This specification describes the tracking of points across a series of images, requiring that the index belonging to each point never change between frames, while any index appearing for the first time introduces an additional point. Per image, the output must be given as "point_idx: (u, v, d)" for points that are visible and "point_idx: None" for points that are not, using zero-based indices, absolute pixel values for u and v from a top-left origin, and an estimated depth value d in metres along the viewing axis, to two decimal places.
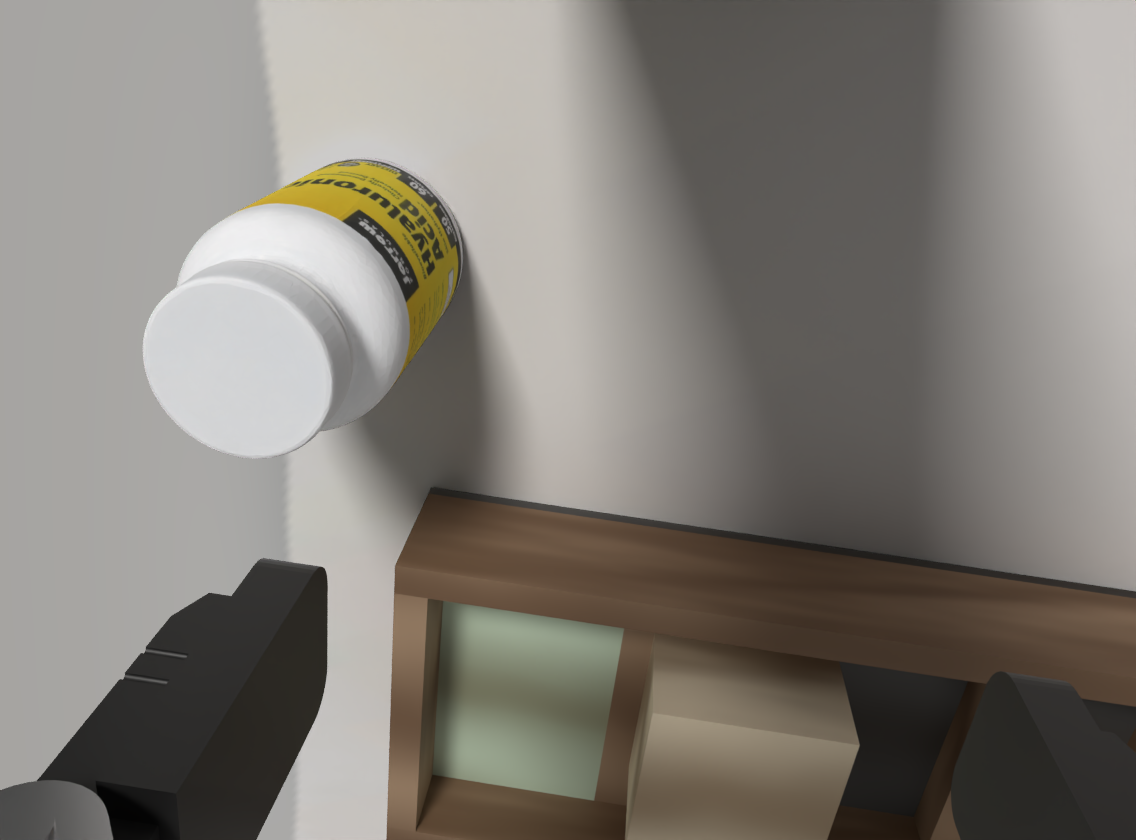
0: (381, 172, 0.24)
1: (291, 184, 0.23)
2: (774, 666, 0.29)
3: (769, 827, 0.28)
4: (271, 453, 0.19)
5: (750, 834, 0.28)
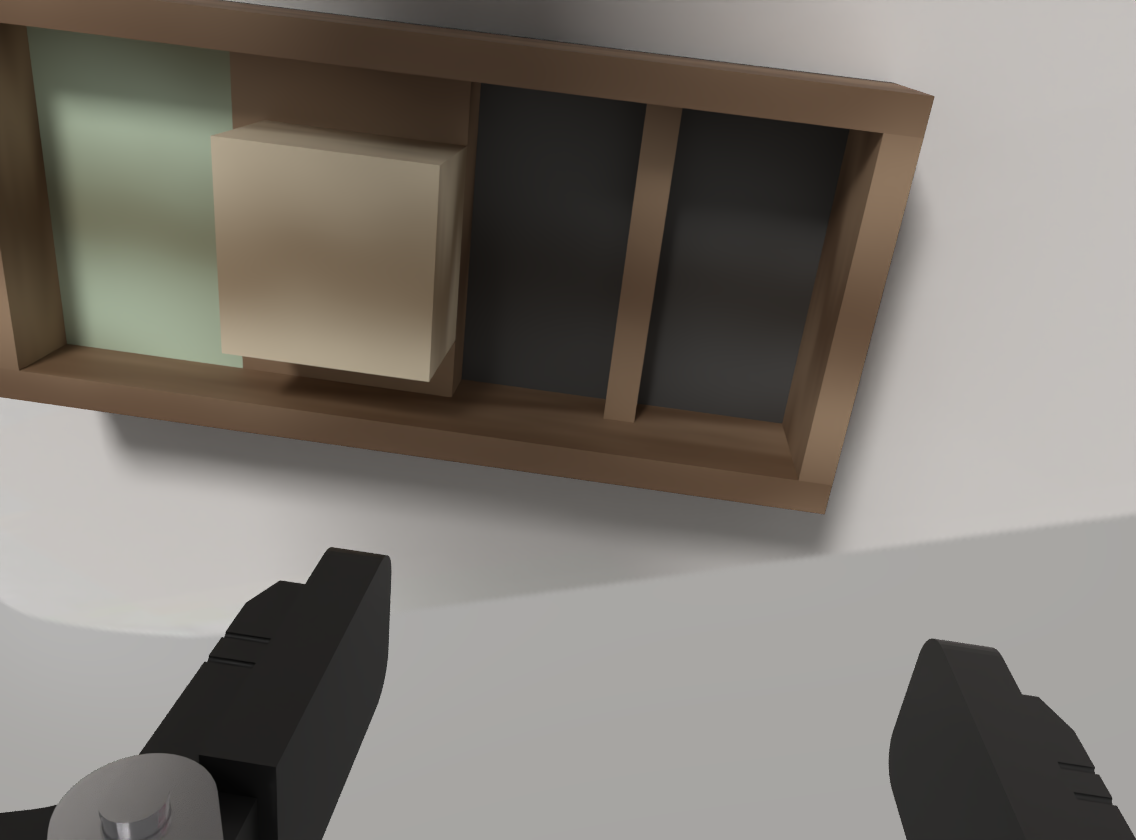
0: None
1: None
2: (387, 139, 0.26)
3: (367, 300, 0.25)
4: None
5: (349, 312, 0.25)
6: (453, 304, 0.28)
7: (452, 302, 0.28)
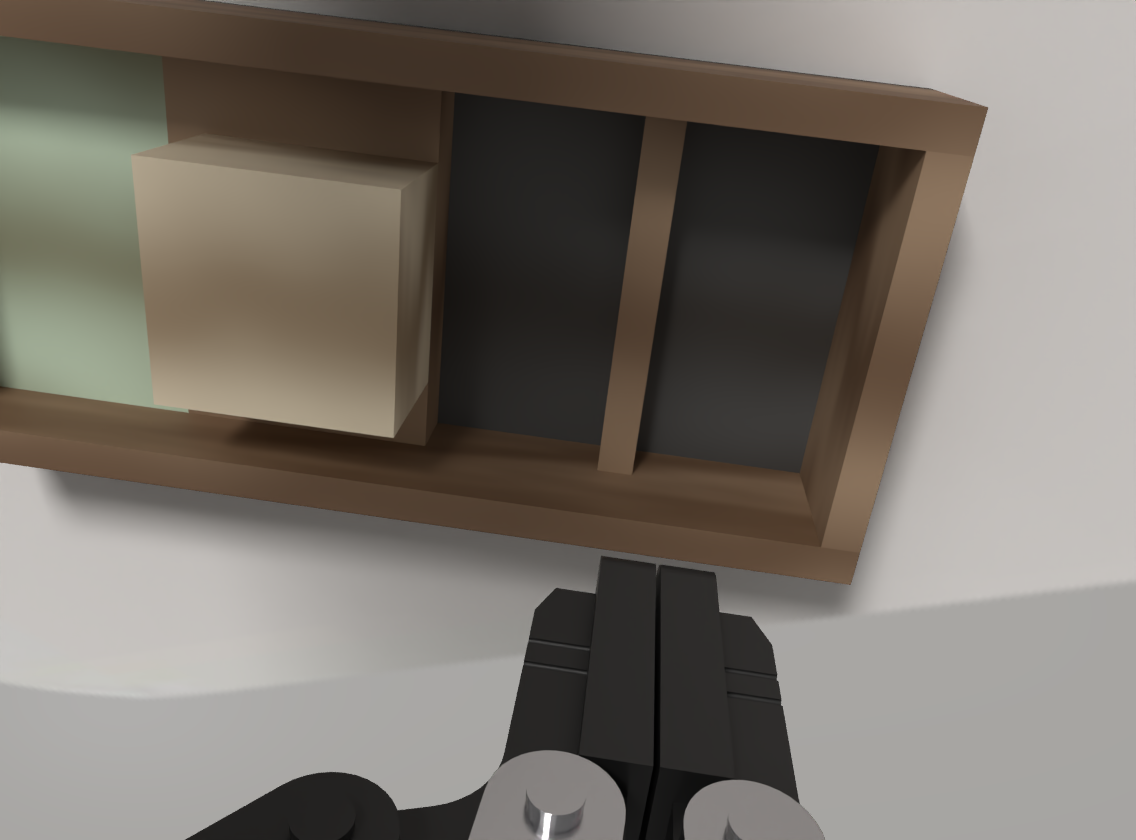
0: None
1: None
2: (344, 156, 0.22)
3: (320, 344, 0.21)
4: None
5: (299, 359, 0.22)
6: (424, 343, 0.24)
7: (423, 342, 0.24)
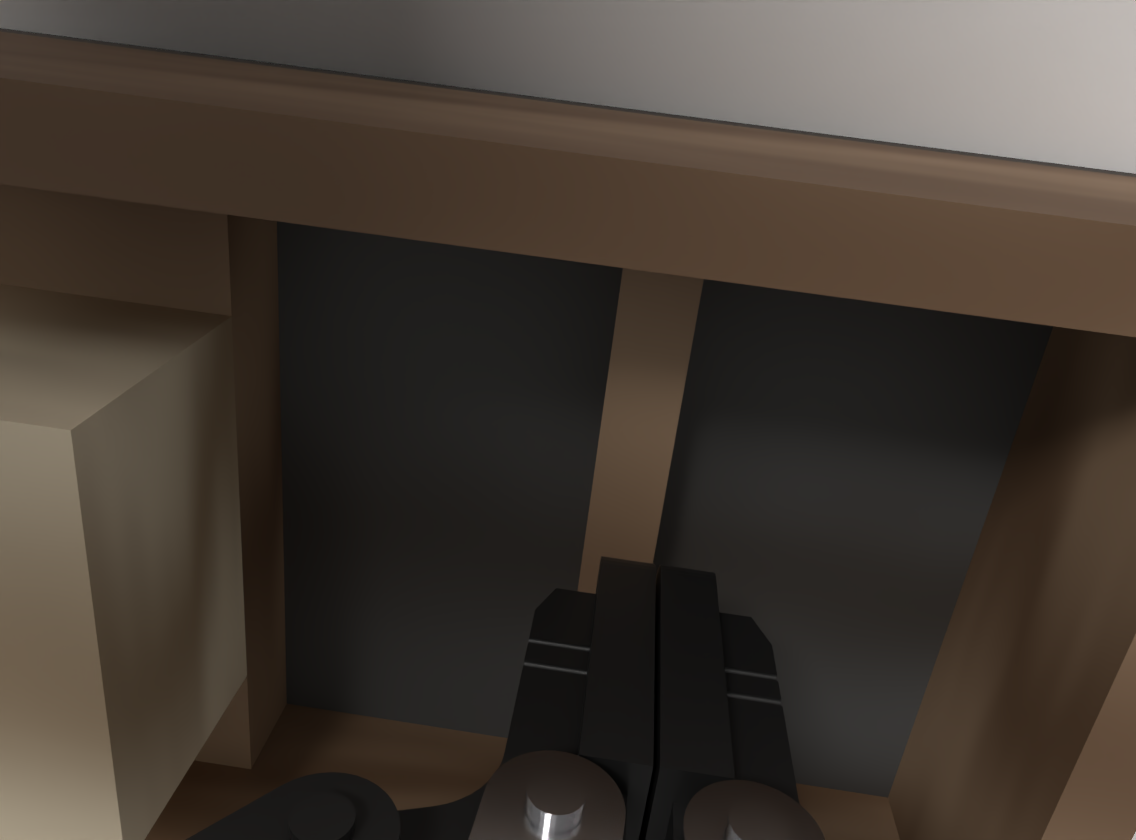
0: None
1: None
2: (37, 310, 0.11)
3: None
4: None
5: None
6: (224, 631, 0.13)
7: (219, 632, 0.13)
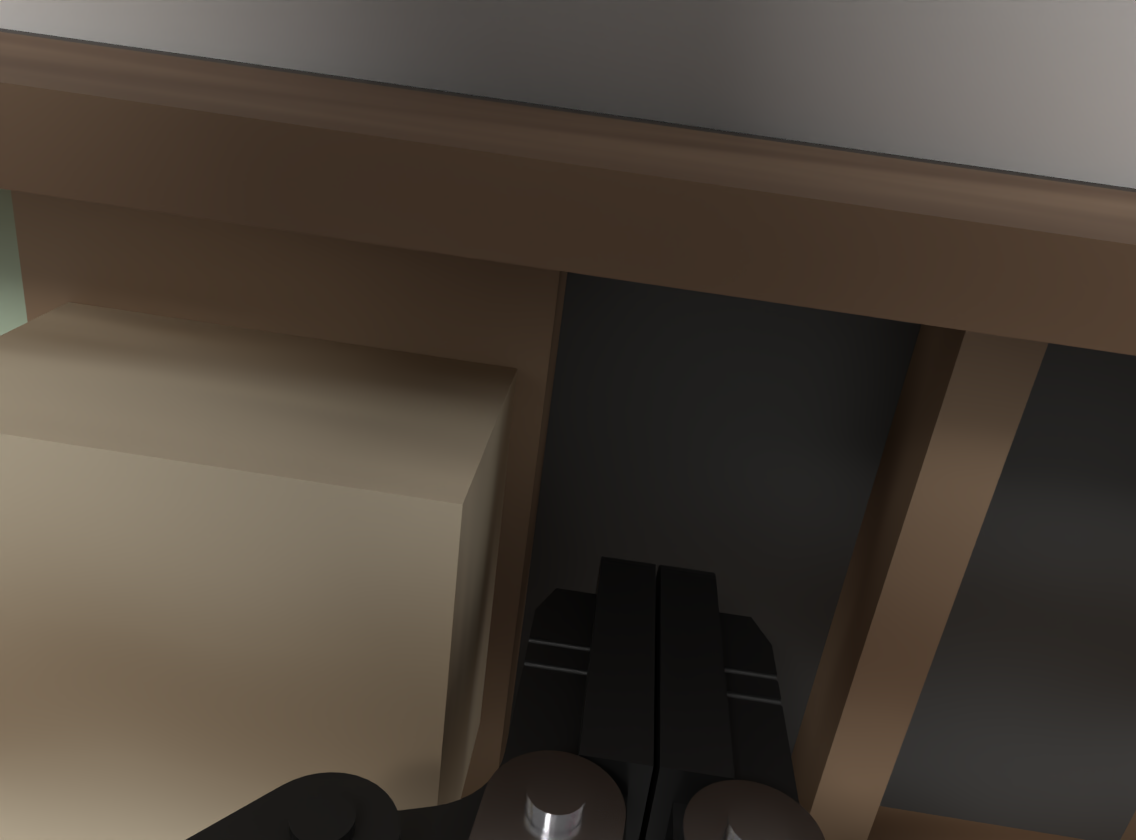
0: None
1: None
2: (335, 364, 0.11)
3: (279, 776, 0.10)
4: None
5: (236, 796, 0.10)
6: (479, 682, 0.13)
7: (478, 683, 0.13)
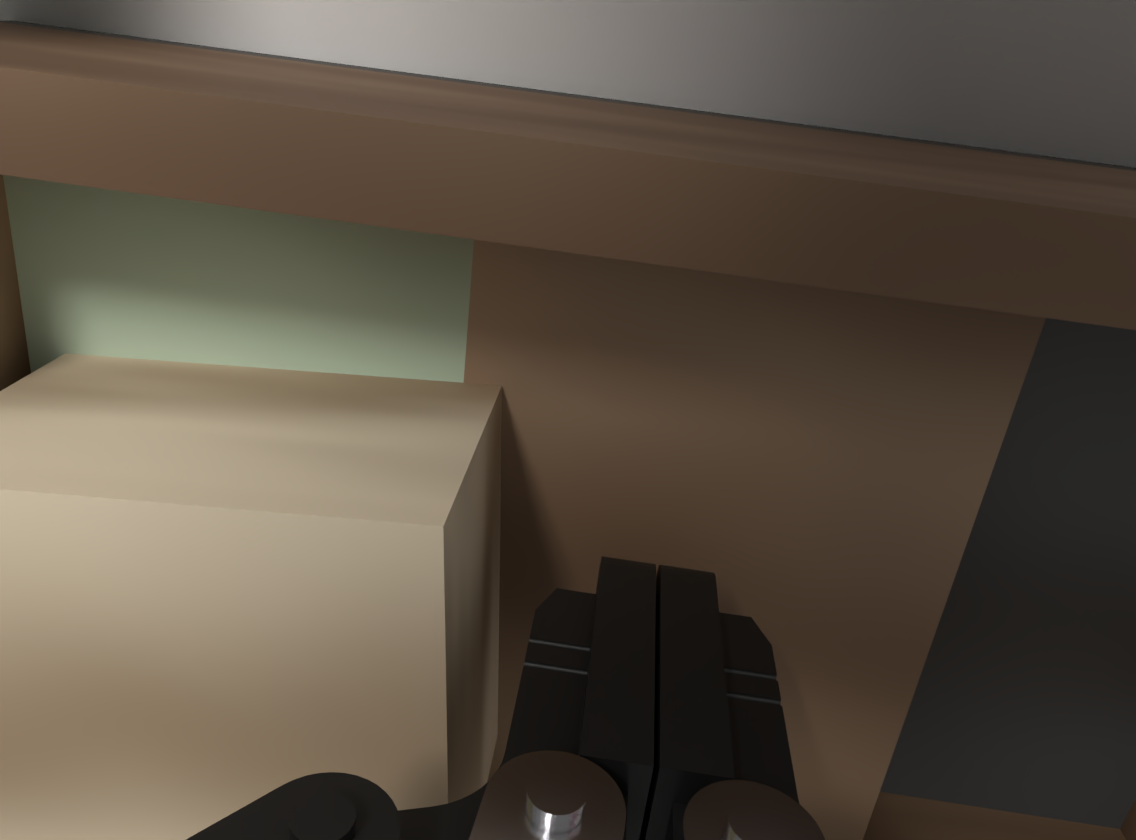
0: None
1: None
2: (322, 395, 0.12)
3: None
4: None
5: None
6: (491, 695, 0.13)
7: (489, 697, 0.13)
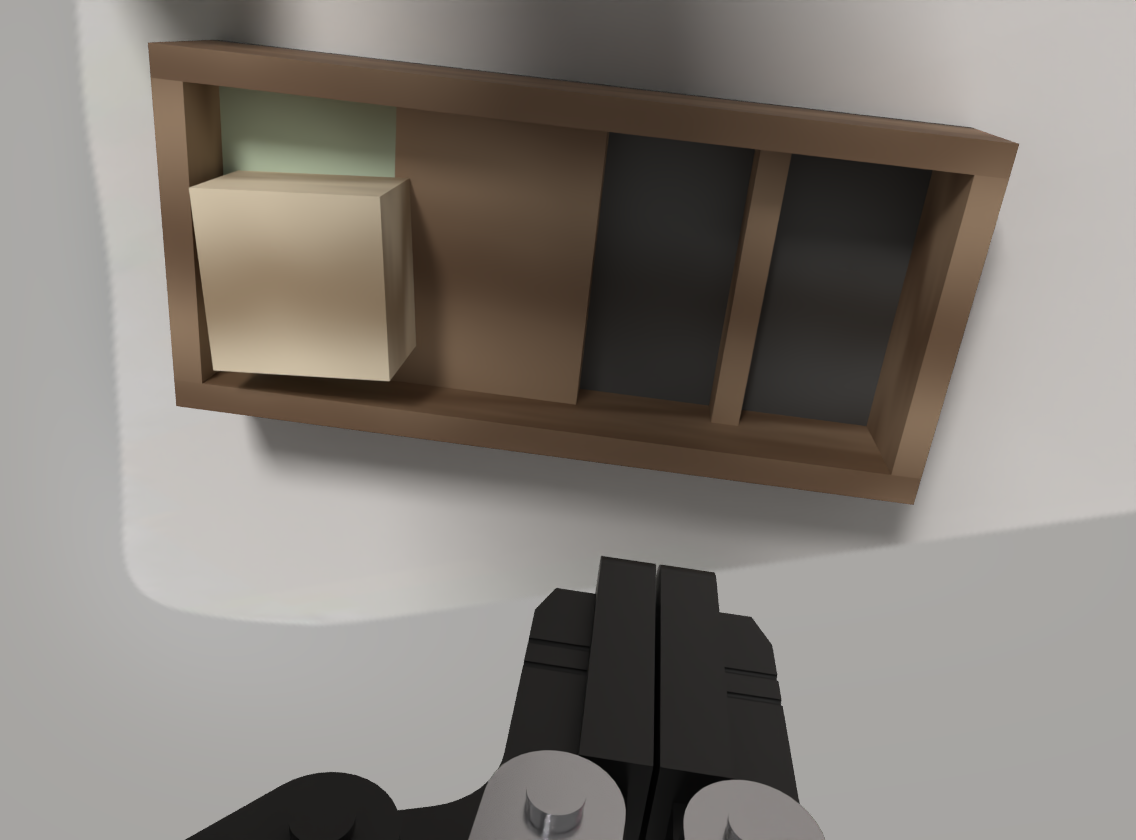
0: None
1: None
2: (340, 178, 0.31)
3: (331, 315, 0.29)
4: None
5: (317, 326, 0.30)
6: (410, 314, 0.32)
7: (408, 312, 0.32)
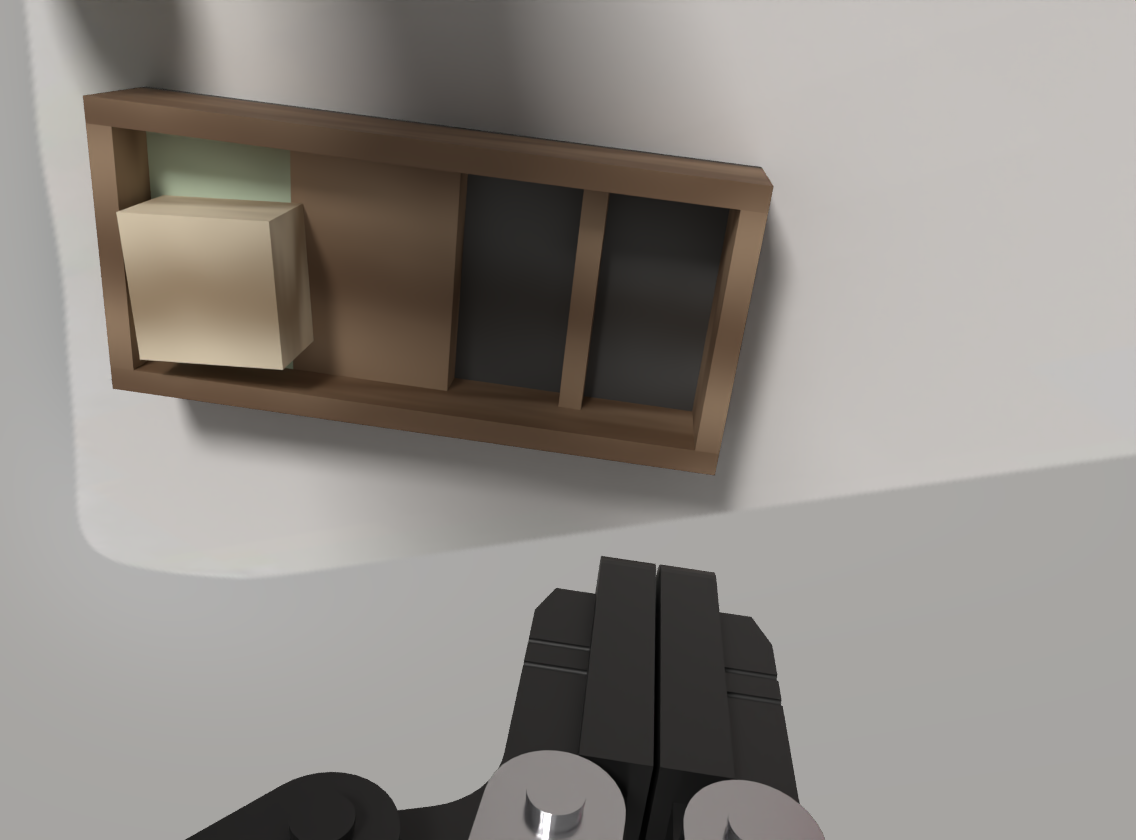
0: None
1: None
2: (244, 203, 0.37)
3: (233, 315, 0.36)
4: None
5: (222, 324, 0.36)
6: (305, 315, 0.39)
7: (304, 313, 0.39)
